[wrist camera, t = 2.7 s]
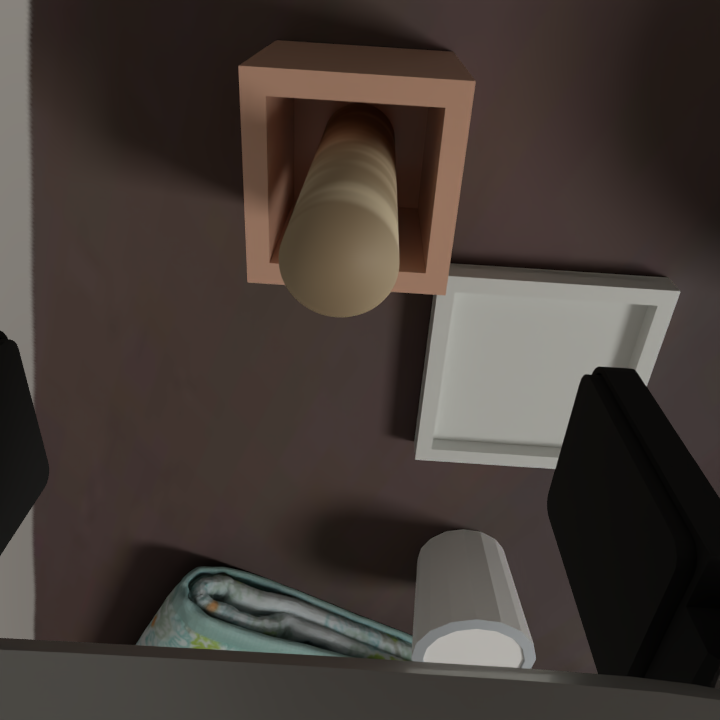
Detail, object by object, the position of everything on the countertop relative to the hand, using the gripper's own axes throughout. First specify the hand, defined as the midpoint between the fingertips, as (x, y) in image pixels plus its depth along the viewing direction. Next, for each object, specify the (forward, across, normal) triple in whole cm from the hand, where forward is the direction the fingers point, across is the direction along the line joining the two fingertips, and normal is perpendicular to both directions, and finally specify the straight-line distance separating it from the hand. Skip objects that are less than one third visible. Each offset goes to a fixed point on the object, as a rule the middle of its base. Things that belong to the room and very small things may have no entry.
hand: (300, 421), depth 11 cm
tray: (+20, -10, +10) cm, 24 cm away
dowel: (+19, 0, 0) cm, 19 cm away
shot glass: (+20, -8, +26) cm, 34 cm away
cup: (+20, 0, 0) cm, 20 cm away
